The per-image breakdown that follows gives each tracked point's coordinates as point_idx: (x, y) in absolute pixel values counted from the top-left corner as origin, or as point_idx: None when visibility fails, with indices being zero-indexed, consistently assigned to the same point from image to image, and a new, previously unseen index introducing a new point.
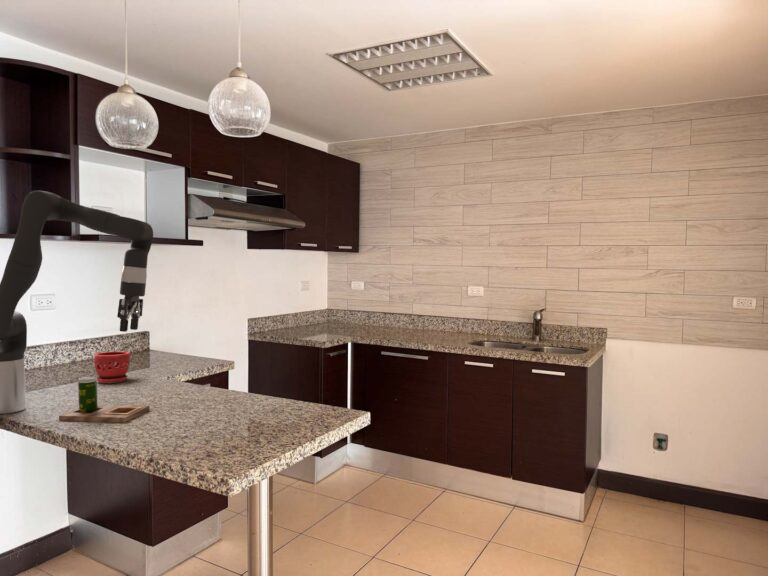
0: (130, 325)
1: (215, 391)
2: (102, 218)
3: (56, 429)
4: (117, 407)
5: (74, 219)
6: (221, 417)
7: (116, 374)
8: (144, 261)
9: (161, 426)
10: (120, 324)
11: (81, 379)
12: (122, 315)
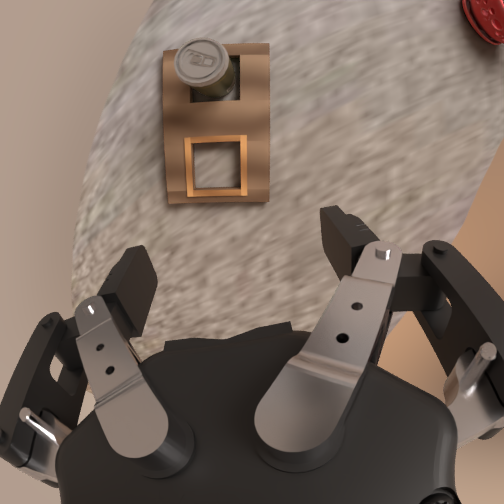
0: (328, 217)
1: None
2: None
3: (112, 100)
4: (237, 137)
5: None
6: None
7: (483, 26)
8: None
9: (166, 281)
10: (114, 273)
11: (182, 54)
12: (59, 356)
